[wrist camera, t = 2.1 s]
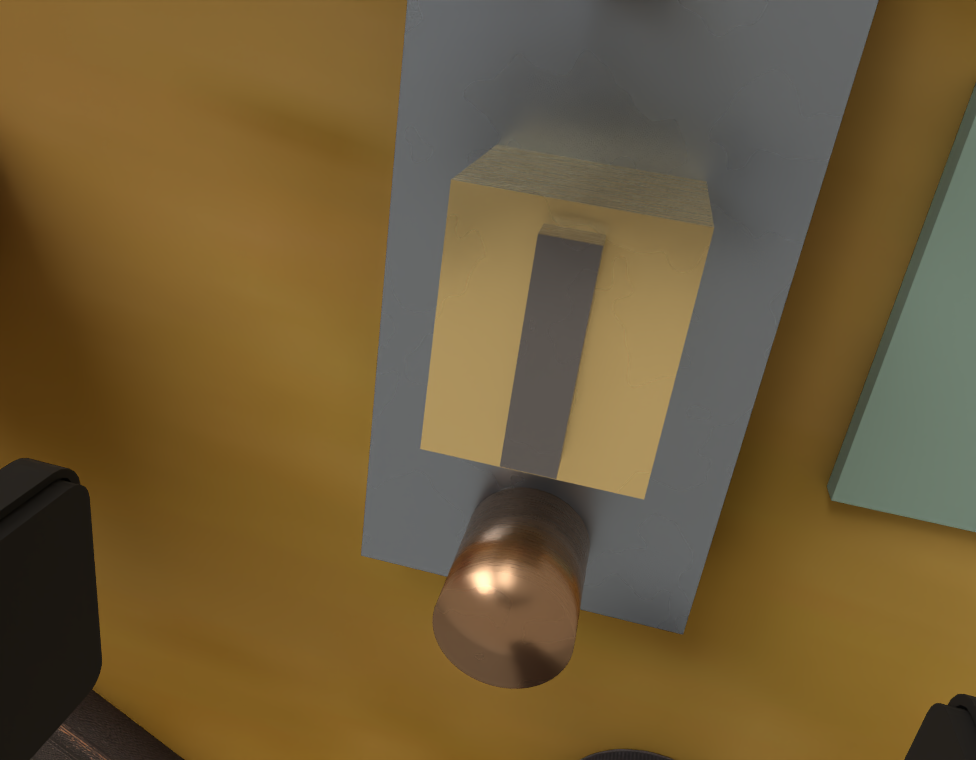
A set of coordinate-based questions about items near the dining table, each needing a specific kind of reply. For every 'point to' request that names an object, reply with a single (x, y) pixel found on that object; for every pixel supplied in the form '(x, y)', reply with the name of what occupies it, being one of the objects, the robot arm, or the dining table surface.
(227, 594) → the dining table surface
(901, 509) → the rubber mat
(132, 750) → the hardcover book
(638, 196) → the lever cap
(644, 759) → the camera lens
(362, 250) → the dining table surface
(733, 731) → the dining table surface
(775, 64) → the hand plane
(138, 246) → the dining table surface
